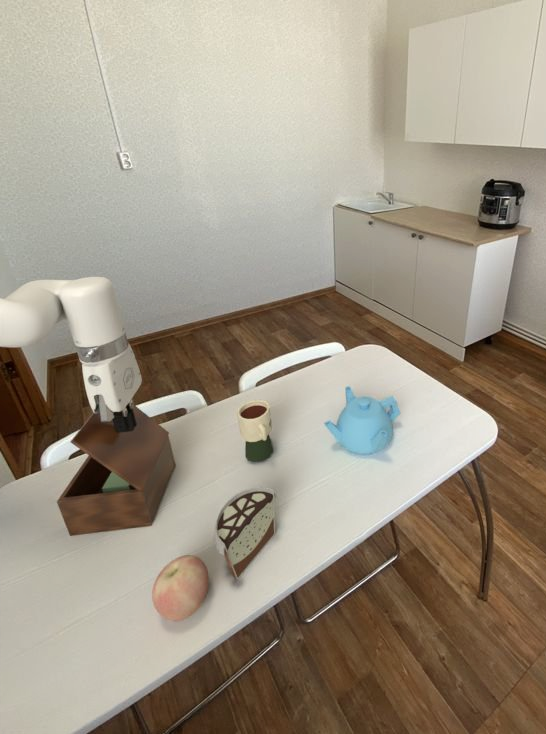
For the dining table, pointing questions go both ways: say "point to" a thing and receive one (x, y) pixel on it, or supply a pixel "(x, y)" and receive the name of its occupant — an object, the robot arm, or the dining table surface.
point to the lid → (123, 446)
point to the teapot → (364, 423)
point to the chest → (113, 498)
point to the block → (116, 484)
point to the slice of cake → (245, 527)
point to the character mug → (256, 429)
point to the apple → (180, 588)
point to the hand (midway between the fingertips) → (126, 428)
